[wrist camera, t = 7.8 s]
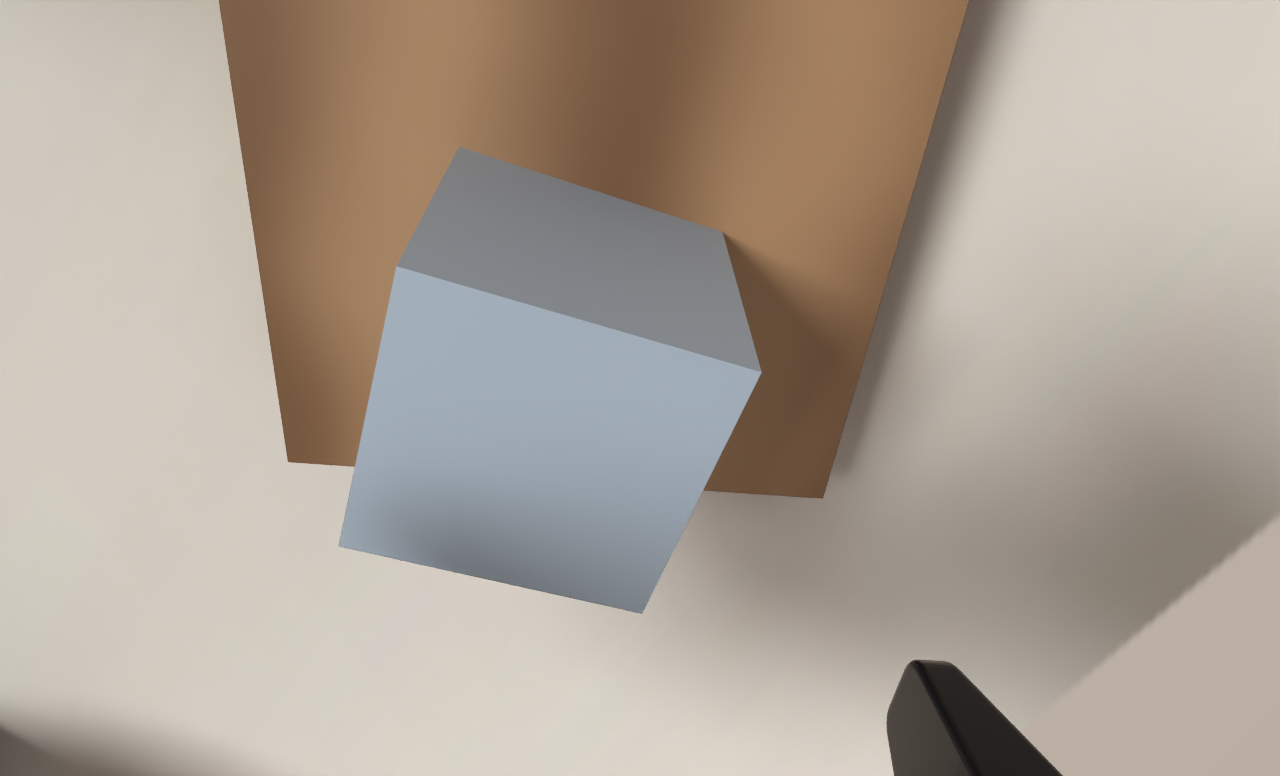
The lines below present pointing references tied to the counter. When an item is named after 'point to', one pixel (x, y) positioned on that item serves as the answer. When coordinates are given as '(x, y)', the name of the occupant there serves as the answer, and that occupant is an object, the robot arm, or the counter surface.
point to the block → (548, 387)
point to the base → (591, 172)
